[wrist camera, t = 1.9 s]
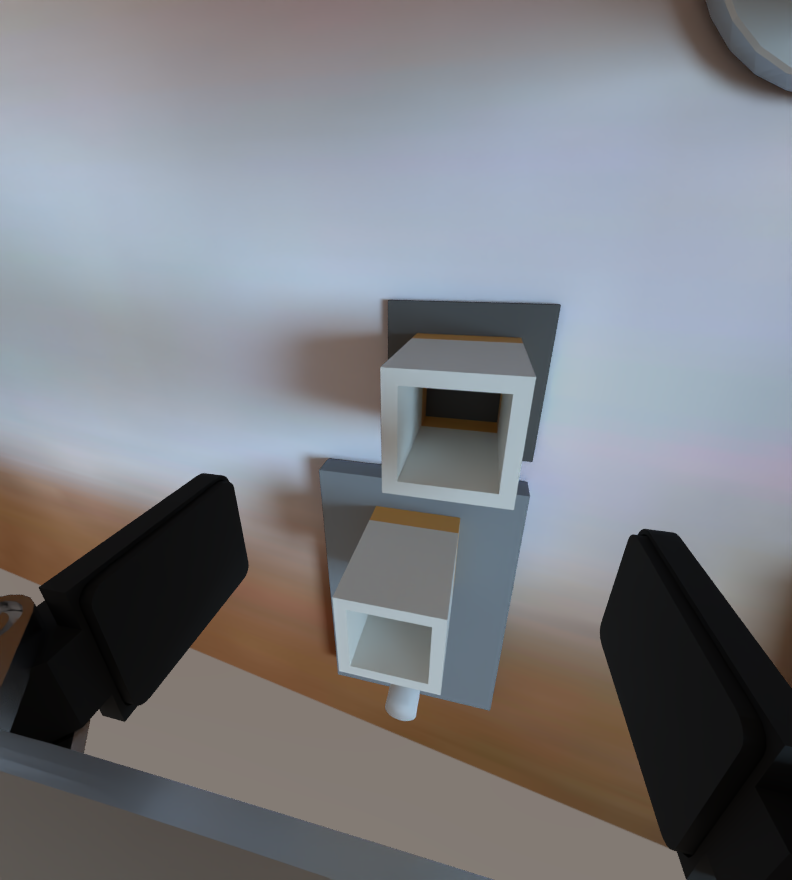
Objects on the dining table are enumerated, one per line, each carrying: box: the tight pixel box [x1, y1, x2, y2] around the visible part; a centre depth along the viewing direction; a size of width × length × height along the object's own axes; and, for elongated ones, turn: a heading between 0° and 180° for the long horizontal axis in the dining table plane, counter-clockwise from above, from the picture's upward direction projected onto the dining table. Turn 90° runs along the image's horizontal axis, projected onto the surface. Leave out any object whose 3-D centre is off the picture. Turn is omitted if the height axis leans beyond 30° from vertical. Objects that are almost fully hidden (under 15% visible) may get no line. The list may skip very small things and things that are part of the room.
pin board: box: [319, 459, 530, 721], centre depth 24 cm, size 19×12×6 cm, turn 0°
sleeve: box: [380, 333, 536, 510], centre depth 16 cm, size 5×5×7 cm
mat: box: [388, 300, 561, 462], centre depth 20 cm, size 8×8×1 cm
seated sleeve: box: [332, 506, 460, 695], centre depth 20 cm, size 5×5×7 cm
